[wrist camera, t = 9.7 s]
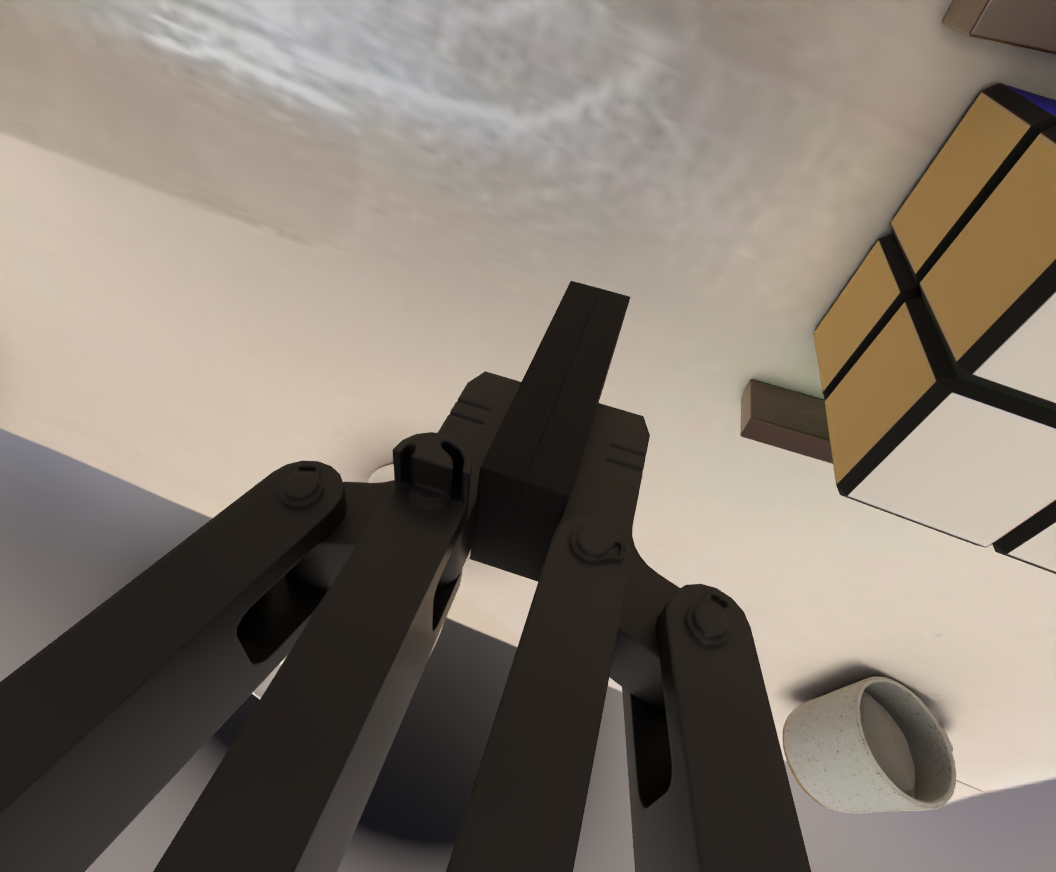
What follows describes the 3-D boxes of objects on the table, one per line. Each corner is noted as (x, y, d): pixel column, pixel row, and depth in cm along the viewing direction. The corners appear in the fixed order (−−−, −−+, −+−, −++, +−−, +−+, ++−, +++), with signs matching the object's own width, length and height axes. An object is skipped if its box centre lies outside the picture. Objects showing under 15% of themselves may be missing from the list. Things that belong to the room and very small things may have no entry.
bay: (967, -28, 16) (1000, -22, 14) (1488, 72, 15) (1613, 96, 13) (740, 397, 28) (739, 436, 25) (1020, 478, 26) (1044, 527, 24)
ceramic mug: (772, 692, 44) (776, 800, 39) (849, 657, 38) (867, 778, 33) (887, 745, 45) (907, 859, 39) (981, 719, 39) (1020, 848, 33)
